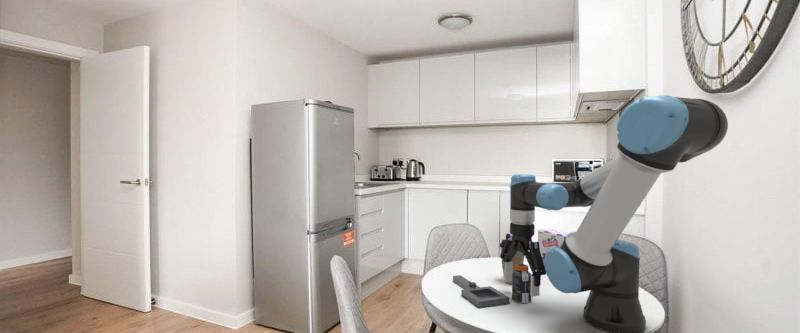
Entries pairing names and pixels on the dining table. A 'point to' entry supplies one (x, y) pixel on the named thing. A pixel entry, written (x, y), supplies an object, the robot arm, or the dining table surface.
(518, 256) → the coffee cup
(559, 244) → the candy box
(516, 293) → the pill bottle
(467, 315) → the dining table surface
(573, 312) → the dining table surface
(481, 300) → the square metal pan
